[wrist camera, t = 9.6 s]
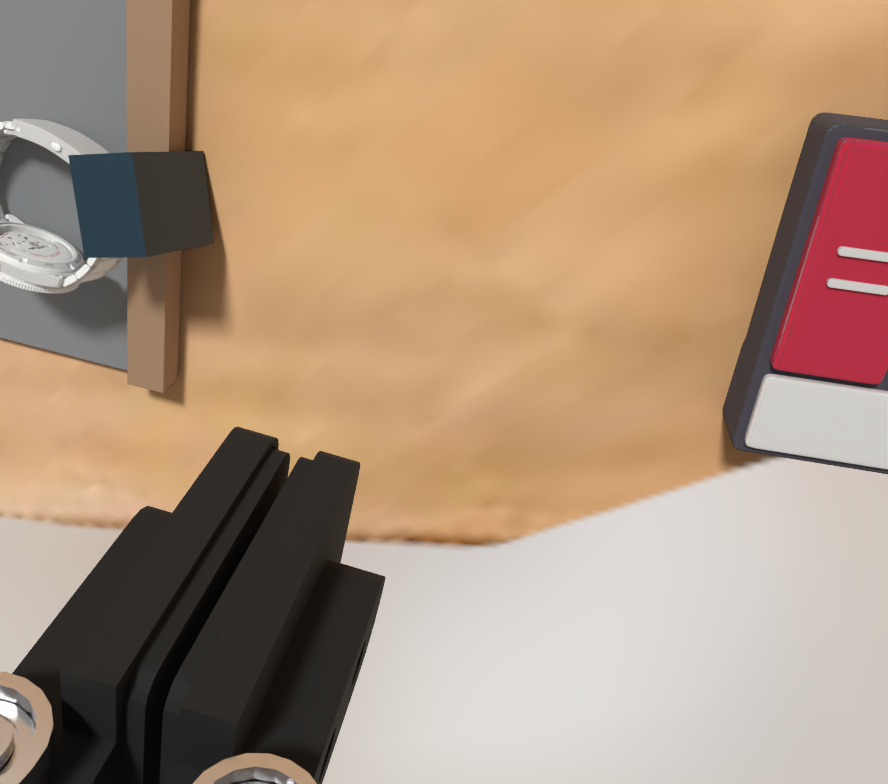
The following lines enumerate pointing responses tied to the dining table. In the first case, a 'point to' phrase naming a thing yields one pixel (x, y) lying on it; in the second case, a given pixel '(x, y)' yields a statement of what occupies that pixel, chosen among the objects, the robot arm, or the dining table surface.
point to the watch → (105, 210)
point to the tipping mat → (115, 129)
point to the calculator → (823, 310)
